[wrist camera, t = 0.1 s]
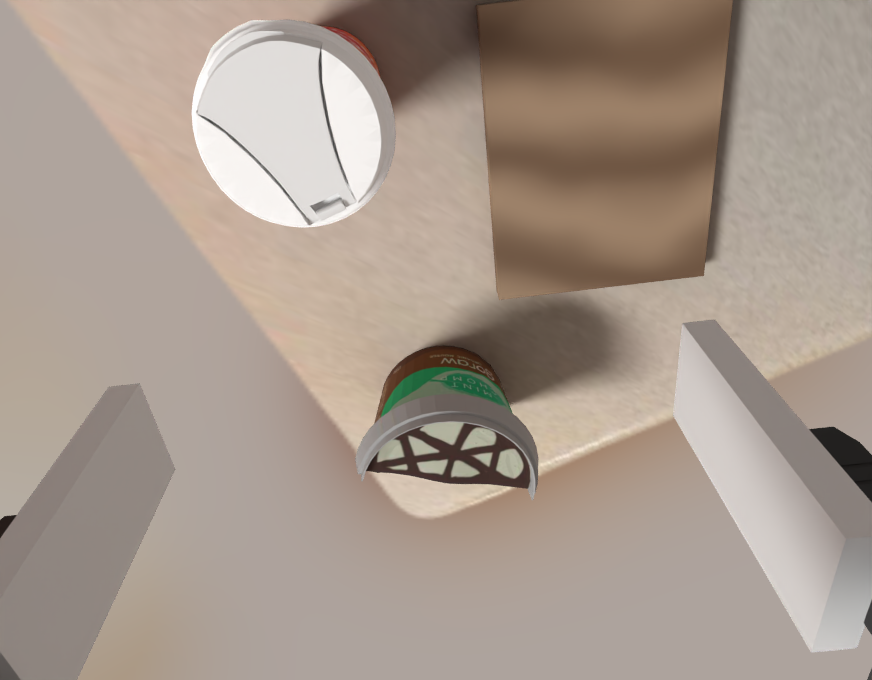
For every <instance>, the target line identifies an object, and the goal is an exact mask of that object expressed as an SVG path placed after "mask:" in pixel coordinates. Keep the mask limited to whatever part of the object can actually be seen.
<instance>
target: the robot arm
mask: <svg viewBox="0 0 872 680" xmlns="http://www.w3.org/2000/svg"><path fill="white" fill-rule="evenodd" d="M673 416H674V418H675V420H676V421H677V423H678V425H679V426H680V428H681V430H682V432H683V433H684V435H685V437H686V438H687V440H688V442H689V444H690V445H691V447H692V449H693V451H694V452H695V454H696V456H697V457H698V459H699V461H700V463H701V464H702V466H703V467H704V469H705V471H706V473H707V475H708V476H709V478H710V480H711V481H712V483H713V485H714V486H715V488H716V490H717V492H718V493H719V495H720V497H721V498H722V500H723V502H724V504H725V505H726V507H727V509H728V510H729V512H730V514H731V516H732V517H733V519H734V521H735V522H736V524H737V526H738V528H739V529H740V531H741V533H742V535H743V536H744V538H745V540H746V541H747V543H748V545H749V546H750V548H751V550H752V551H753V553H754V555H755V557H756V558H757V560H758V562H759V564H760V565H761V567H762V569H763V570H764V572H765V574H766V575H767V577H768V579H769V581H770V583H771V584H772V586H773V588H774V589H775V591H776V593H777V594H778V596H779V598H780V600H781V601H782V603H783V605H784V607H785V608H786V610H787V611H788V613H789V615H790V617H791V619H792V620H793V622H794V624H795V625H796V627H797V629H798V630H799V632H800V634H801V635H802V637H803V639H804V641H805V643H806V644H807V646H808V648H809V649H810V651H811V652H821V651H831V650H842V649H851V648H857V646H858V643H859V641H860V638H861V635H862V632H863V630H864V627H865V626H866V627H867V629H868V630H869V632H870V633H871V634H872V455H871V454H870V453H869V452H868V451H867V450H866V449H865V448H864V446H863V445H862V444H861V443H860V442H858V441H857V440H855V439H853V438H851V437H850V436H848V435H846V434H845V433H843V432H841V431H840V430H838V429H836V428H835V427H827V428H817V429H808V428H807V427H806V425H805V424H804V423H803V422H802V421H801V420H800V418H799V417H798V416H797V415H796V414H795V413H794V411H793V410H792V409H791V408H790V407H789V406H788V404H787V403H786V402H785V401H784V400H783V399H782V397H781V396H780V395H779V394H778V393H777V392H776V390H775V389H774V388H773V387H772V386H771V385H770V383H769V382H768V381H767V380H766V379H765V378H764V376H763V375H762V374H761V373H760V372H759V371H758V369H757V368H756V367H755V366H754V365H753V364H752V362H751V361H750V360H749V359H748V358H747V357H746V355H745V354H744V353H743V352H742V351H741V350H740V348H739V347H738V346H737V345H736V344H735V343H734V341H733V340H732V339H731V338H730V337H729V336H728V334H727V333H726V332H725V331H724V330H723V329H722V328H721V326H720V325H719V324H718V323H717V322H716V321H715V320H706V321H697V322H688V323H682V331H681V341H680V351H679V362H678V372H677V382H676V392H675V402H674V412H673ZM174 471H175V467H174V465H173V462H172V460H171V458H170V455H169V453H168V450H167V448H166V445H165V443H164V441H163V439H162V436H161V434H160V431H159V429H158V426H157V424H156V422H155V419H154V417H153V414H152V412H151V410H150V407H149V405H148V402H147V400H146V397H145V395H144V393H143V390H142V388H141V386H140V384H130V385H121V386H112V387H108V389H107V390H106V391H105V393H104V394H103V396H102V397H101V399H100V400H99V401H98V403H97V404H96V405H95V407H94V408H93V410H92V411H91V412H90V414H89V415H88V417H87V418H86V419H85V421H84V423H83V424H82V425H81V426H80V428H79V429H78V431H77V432H76V433H75V435H74V436H73V438H72V439H71V440H70V442H69V443H68V445H67V446H66V447H65V449H64V450H63V452H62V453H61V454H60V456H59V457H58V458H57V460H56V462H55V463H54V464H53V465H52V467H51V468H50V470H49V471H48V472H47V474H46V475H45V477H44V478H43V479H42V481H41V482H40V484H39V485H38V486H37V488H36V489H35V491H34V492H33V493H32V495H31V496H30V498H29V499H28V500H27V502H26V503H25V505H24V506H23V507H22V509H21V510H20V512H19V513H18V515H13V516H4V517H3V518H2V519H1V520H0V680H77V679H78V676H79V674H80V672H81V670H82V668H83V665H84V664H85V661H86V659H87V657H88V655H89V653H90V651H91V649H92V646H93V644H94V642H95V640H96V638H97V636H98V634H99V631H100V629H101V627H102V625H103V623H104V621H105V619H106V617H107V614H108V612H109V610H110V608H111V606H112V603H113V601H114V599H115V597H116V595H117V593H118V591H119V589H120V587H121V584H122V582H123V580H124V578H125V576H126V574H127V571H128V569H129V567H130V565H131V563H132V561H133V559H134V557H135V554H136V552H137V550H138V548H139V546H140V544H141V542H142V539H143V537H144V535H145V533H146V531H147V529H148V526H149V524H150V522H151V520H152V518H153V516H154V514H155V512H156V509H157V507H158V505H159V503H160V501H161V499H162V497H163V495H164V492H165V490H166V488H167V486H168V484H169V482H170V480H171V477H172V475H173V473H174ZM867 680H872V669H871V672H870V674H869V677H868V679H867Z"/></svg>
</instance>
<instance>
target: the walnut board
mask: <svg viewBox="0 0 872 680" xmlns="http://www.w3.org/2000/svg"><path fill="white" fill-rule="evenodd" d="M732 4H733V0H513V1H505V2H497V3H489V4H482V5H476V10H477V24H478V37H479V51H480V65H481V79H482V93H483V107H484V121H485V135H486V149H487V163H488V177H489V191H490V205H491V218H492V232H493V246H494V260H495V274H496V288H497V293H498V297H499V300H502V299H511V298H519V297H528V296H536V295H545V294H553V293H562V292H570V291H579V290H587V289H596V288H604V287H613V286H621V285H630V284H638V283H647V282H655V281H664V280H672V279H681V278H689V277H698V276H704V268H705V259H706V250H707V240H708V231H709V221H710V212H711V202H712V193H713V183H714V174H715V164H716V155H717V146H718V136H719V127H720V117H721V108H722V98H723V89H724V79H725V70H726V60H727V51H728V42H729V32H730V23H731V13H732Z"/></svg>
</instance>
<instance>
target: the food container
mask: <svg viewBox="0 0 872 680" xmlns="http://www.w3.org/2000/svg"><path fill="white" fill-rule="evenodd" d="M355 459H356V466H357V471H358V474H362V476H361V477H362V478H361V481H363V478H364V475H365V472H366V471H372V472H377V473H380V472H384V473H395V474H403V475H410V476H415V477H419V478H424V479H428V480H433V481H438V482H443V483H449V484H492V485H501V486H510V487H518V488H527V489H528V491H529V493H530V496H531V498H532V500H533V498H534V494H535V492H536V487H537V482H538V454H537V448H536V445H535V442H534V440H533V437H532V435H531V434H530V432H529V431H528V429H527V428H526V426H525V425H524V424H523V423H522V422H521V421H520V420H519V419H518V418H517V417H516V416H515V415H514V414H513V413H512V411H511V408H510V406H509V403H508V401H507V398H506V396H505V393H504V391H503V388H502V386H501V383H500V381H499V379H498V377H497V375H496V374H495V372H494V370H493V369H492V367H491V365H490V364H488V363H487V362H486V361H485V360H483V359H482V358H481V357H480V356H479V355H477V354H475V353H473V352H470V351H468V350H466V349H463V348H458V347H454V346H436V347H430V348H426V349H422V350H420V351H417V352H415V353H413V354H411V355H409V356H407V357H406V358H405V359H403V360H402V361H401V362H399V363H398V364H397V365H396V367H395V368H394V369H393V370H392V371H391V373H390V374H389V376H388V377H387V379H386V382H385V384H384V387H383V391H382V395H381V399H380V403H379V407H378V411H377V415H376V419H375V423H374V425H373V426H372V427H371V428H370V429H369V430H368V432H367V433H366V435H365V436H364V437H363V439H362V441H361V444H360V446H359V448H358V451H357V454H356V458H355Z"/></svg>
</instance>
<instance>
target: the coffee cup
mask: <svg viewBox="0 0 872 680" xmlns="http://www.w3.org/2000/svg"><path fill="white" fill-rule="evenodd" d="M192 122H193V131H194V136H195V140H196V145H197V147H198V150H199V152H200V155H201V158H202V160H203V162H204V164H205V166H206V167H207V169H208V171H209V173H210V175H211V176H212V178H213V179H214V180H215V182H216V183H217V184H218V186H219V187H220V188H221V190H222V191H223V192H224V193H225V194H226V195H227V196H228V197H229V198H230V199H231V200H232V201H234V202H235V203H236V204H237V205H239V206H240V207H241V208H243V209H244V210H246V211H248V212H249V213H251V214H253V215H255V216H256V217H259V218H261V219H264V220H266V221H269V222H272V223H276V224H280V225H285V226H292V227H317V226H322V225H327V224H331V223H334V222H337V221H339V220H342V219H344V218H346V217H348V216H350V215H351V214H353V213H355V212H356V211H358V210H359V209H360V208H361V207H363V206H364V205H365V204H366V203H368V201H369V200H370V199H371V198H372V197H373V196H374V195H375V194H376V192H377V191H378V189H379V188H380V186H381V185H382V183H383V182H384V180H385V178H386V176H387V173H388V171H389V168H390V166H391V162H392V158H393V154H394V150H395V138H396V130H395V117H394V113H393V109H392V104H391V101H390V98H389V95H388V93H387V90H386V88H385V85H384V84H383V82H382V80H381V78H380V73H379V70H378V67H377V64H376V62H375V60H374V58H373V56H372V54H371V53H370V51H369V50H368V49H367V47H366V46H365V45H364V44H363V43H362V42H361V41H360V40H359V39H357V38H356V37H355V36H353V35H352V34H350V33H348V32H346V31H344V30H341V29H338V28H333V27H325V26H318V25H315V24H311V23H308V22H304V21H296V20H288V19H287V20H251V21H249V22H246V23H244V24H242V25H240V26H237V27H235V28H234V29H233V30H231V31H230V32H228V33H227V34H225V35H224V36H222V37H221V38H220V39H219V40H218V41H217V42H216V43H215V44H214V45H213V46H212V47H211V49H210V52H209V54H208V57H207V59H206V62H205V64H204V66H203V69H202V71H201V73H200V75H199V77H198V80H197V83H196V87H195V91H194V95H193V104H192Z"/></svg>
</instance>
